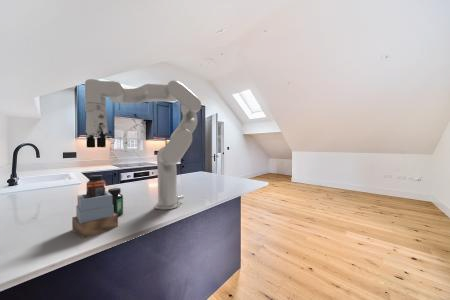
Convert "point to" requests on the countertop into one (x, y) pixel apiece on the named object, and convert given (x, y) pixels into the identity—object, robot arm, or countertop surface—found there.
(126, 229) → the countertop surface
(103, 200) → the tower top block
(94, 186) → the supplement bottle
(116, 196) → the supplement bottle
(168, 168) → the robot arm
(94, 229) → the tower base block
